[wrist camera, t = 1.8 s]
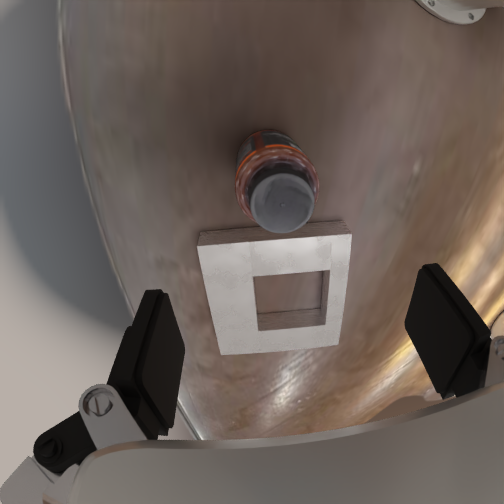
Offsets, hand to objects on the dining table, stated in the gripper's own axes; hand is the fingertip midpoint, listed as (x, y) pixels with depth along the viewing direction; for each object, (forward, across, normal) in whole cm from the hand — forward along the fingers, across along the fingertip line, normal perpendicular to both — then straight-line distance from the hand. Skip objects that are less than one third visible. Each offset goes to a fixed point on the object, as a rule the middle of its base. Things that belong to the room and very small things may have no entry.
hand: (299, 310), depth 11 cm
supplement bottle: (+20, 0, 0) cm, 20 cm away
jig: (+20, 0, +14) cm, 25 cm away
